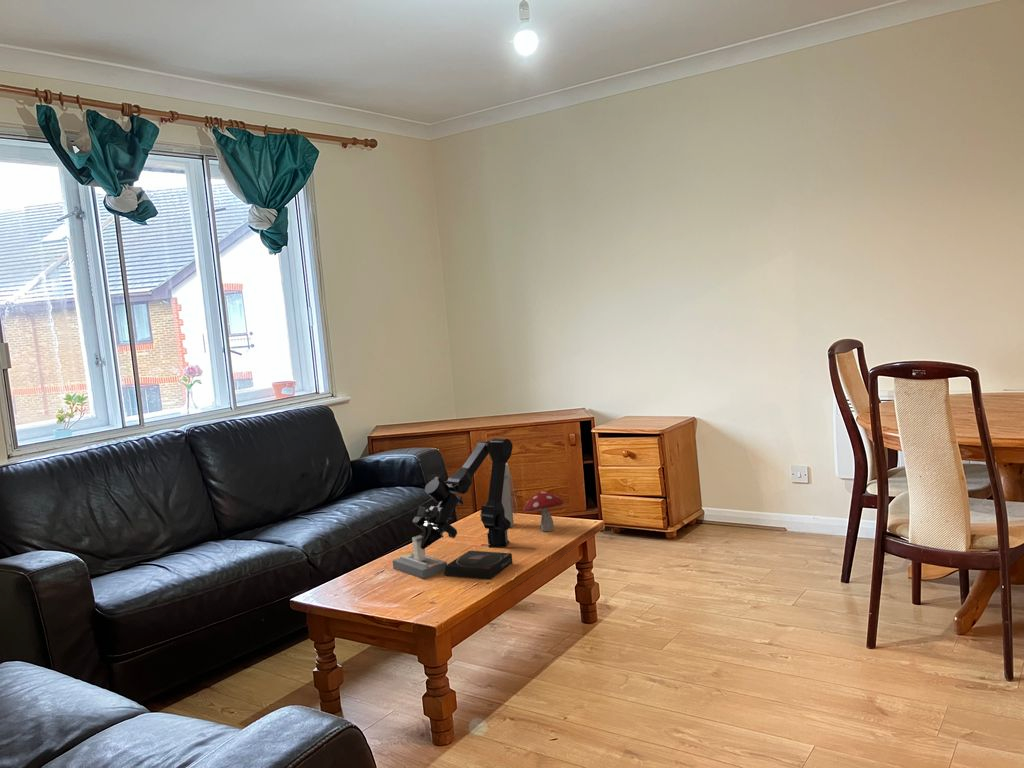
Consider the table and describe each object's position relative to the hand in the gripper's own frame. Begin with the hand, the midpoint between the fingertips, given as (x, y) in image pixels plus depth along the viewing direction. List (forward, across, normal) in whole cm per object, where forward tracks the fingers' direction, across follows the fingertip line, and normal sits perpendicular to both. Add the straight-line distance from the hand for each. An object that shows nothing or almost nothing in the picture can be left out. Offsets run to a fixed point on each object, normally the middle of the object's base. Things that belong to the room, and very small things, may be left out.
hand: (421, 548), depth 268 cm
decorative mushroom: (-35, -1, +48) cm, 59 cm away
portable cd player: (-3, +13, +16) cm, 21 cm away
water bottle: (-32, -19, +45) cm, 58 cm away
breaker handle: (+3, -4, +4) cm, 6 cm away
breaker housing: (+5, -4, +7) cm, 10 cm away
